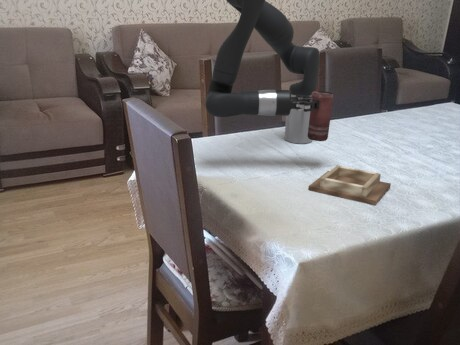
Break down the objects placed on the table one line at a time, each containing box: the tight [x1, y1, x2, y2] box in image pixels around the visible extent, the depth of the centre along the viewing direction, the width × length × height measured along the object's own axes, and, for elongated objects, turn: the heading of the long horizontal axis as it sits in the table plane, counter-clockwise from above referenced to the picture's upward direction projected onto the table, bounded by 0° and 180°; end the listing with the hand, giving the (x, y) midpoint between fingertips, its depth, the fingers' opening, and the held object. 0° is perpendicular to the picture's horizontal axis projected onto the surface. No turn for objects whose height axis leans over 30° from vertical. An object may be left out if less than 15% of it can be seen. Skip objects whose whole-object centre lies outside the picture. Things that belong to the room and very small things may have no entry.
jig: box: [307, 164, 392, 206], centre depth 122 cm, size 18×14×4 cm
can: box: [307, 90, 334, 142], centre depth 135 cm, size 6×6×14 cm
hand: (331, 103), depth 134 cm, fingers closed
